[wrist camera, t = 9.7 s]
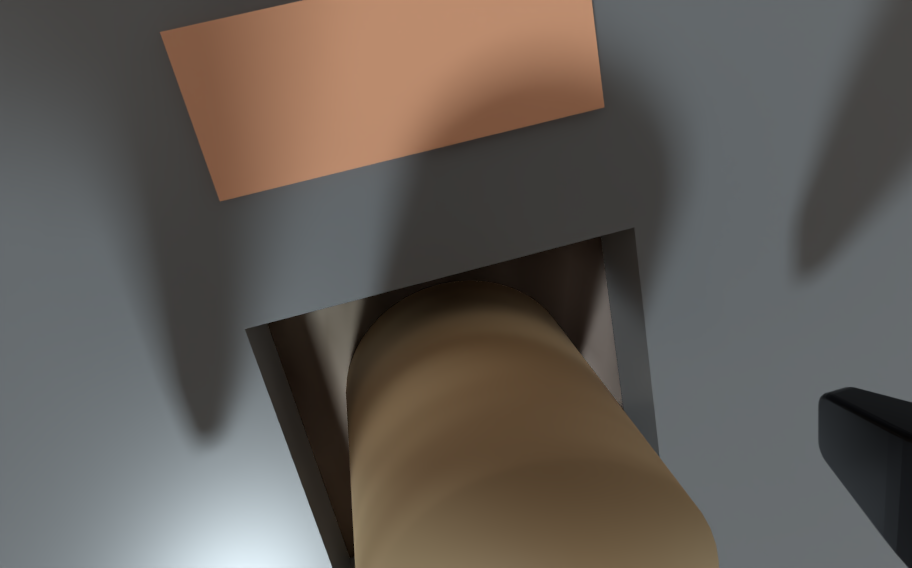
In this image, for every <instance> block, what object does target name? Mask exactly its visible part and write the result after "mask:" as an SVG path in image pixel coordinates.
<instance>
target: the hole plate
mask: <svg viewBox="0 0 912 568" xmlns="http://www.w3.org/2000/svg"><path fill="white" fill-rule="evenodd" d="M599 236H601V241H602V249H603V257H604V264H605V272H606V279H607V287H608V295H609V302H610V310H611V318H612V325H613V333H614V340H615V348H616V356H617V363H618V371H619V379H620V386H621V394H622V401H623V409H624V411H625V413H626V414H627V415H628V417H629V418H630V419H631V421H632V422H633V423H634V424H635V426H636V427H637V428H638V430H639V431H640V432H641V434H642V435H643V436H644V438H645V439H646V440H647V442H648V443H649V444H650V445H651V447H652V448H653V449H654V451H655V452H656V453H657V455H658V456H659V457H660V459H661V460H662V461H663V462H664V464H665V465H666V466H667V468H668V469H669V470H670V472H671V473H672V474H673V476H674V477H675V478H676V480H677V481H678V482H679V483H680V485H681V486H682V487H683V489H684V490H685V491H686V493H687V494H688V495H689V497H690V498H691V499H692V500H693V502H694V503H695V504H696V506H697V507H698V508H699V510H700V511H701V512H702V514H703V516H704V518H705V519H706V521H707V523H708V525H709V526H710V528H711V531H712V534H713V537H714V540H715V543H716V547H717V553H718V559H719V568H908V567H907V566H906V565H905V564H904V563H903V561H902V560H901V559H900V558H899V557H898V556H897V555H896V553H895V552H894V551H893V550H892V548H891V547H890V546H889V545H888V543H887V542H886V541H885V540H884V538H883V537H882V536H881V535H880V533H879V532H878V531H877V529H876V528H875V527H874V525H873V524H872V523H871V521H870V520H869V519H868V517H867V516H866V515H865V513H864V512H863V511H862V509H861V508H860V507H859V505H858V504H857V503H856V501H855V500H854V499H853V497H852V496H851V495H850V493H849V492H848V491H847V489H846V488H845V487H844V486H843V484H842V483H841V482H840V480H839V479H838V478H837V476H836V475H835V474H834V472H833V471H832V470H831V468H830V467H829V466H828V464H827V463H826V462H825V460H824V458H823V456H822V455H821V452H820V449H819V445H818V402H819V399H820V397H821V396H822V395H823V394H825V393H827V392H830V391H834V390H837V389H841V388H844V387H856V388H859V389H863V390H867V391H871V392H875V393H878V394H882V395H886V396H890V397H894V398H898V399H901V400H905V401H909V402H912V0H0V568H355V557H352V558H350V557H349V554H348V551H347V548H346V546H345V543H344V540H343V537H342V534H341V531H340V529H339V526H338V523H337V520H336V517H335V514H334V512H333V509H332V506H331V503H330V500H329V497H328V494H327V492H326V489H325V486H324V483H323V480H322V477H321V475H320V472H319V469H318V466H317V463H316V460H315V458H314V455H313V452H312V449H311V446H310V443H309V440H308V438H307V435H306V432H305V429H304V426H303V423H302V421H301V418H300V415H299V412H298V409H297V406H296V404H295V401H294V398H293V395H292V392H291V389H290V386H289V384H288V381H287V378H286V375H285V372H284V369H283V367H282V364H281V361H280V358H279V355H278V352H277V350H276V347H275V344H274V341H273V338H272V335H271V332H270V330H269V327H268V324H267V323H270V322H274V321H278V320H282V319H286V318H289V317H293V316H297V315H301V314H305V313H309V312H312V311H316V310H320V309H324V308H328V307H332V306H335V305H339V304H343V303H347V302H351V301H354V300H358V299H362V298H366V297H370V296H374V295H377V294H381V293H385V292H389V291H393V290H397V289H400V288H404V287H408V286H412V285H416V284H419V283H423V282H427V281H431V280H435V279H439V278H442V277H446V276H450V275H454V274H458V273H462V272H465V271H469V270H473V269H477V268H481V267H484V266H488V265H492V264H496V263H500V262H504V261H507V260H511V259H515V258H519V257H523V256H527V255H530V254H534V253H538V252H542V251H546V250H549V249H553V248H557V247H561V246H565V245H569V244H572V243H576V242H580V241H584V240H588V239H592V238H595V237H599Z"/></svg>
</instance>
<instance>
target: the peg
mask: <svg viewBox="0 0 912 568" xmlns="http://www.w3.org/2000/svg"><path fill="white" fill-rule="evenodd" d="M346 400H347V419H348V438H349V458H350V477H351V496H352V515H353V534H354V553H355V568H719V559H718V553H717V547H716V543H715V540H714V537H713V534H712V531H711V528H710V526H709V525H708V523H707V521H706V519H705V518H704V516H703V514H702V512H701V511H700V510H699V508H698V507H697V506H696V504H695V503H694V502H693V500H692V499H691V498H690V497H689V495H688V494H687V493H686V491H685V490H684V489H683V487H682V486H681V485H680V483H679V482H678V481H677V480H676V478H675V477H674V476H673V474H672V473H671V472H670V470H669V469H668V468H667V466H666V465H665V464H664V462H663V461H662V460H661V459H660V457H659V456H658V455H657V453H656V452H655V451H654V449H653V448H652V447H651V445H650V444H649V443H648V442H647V440H646V439H645V438H644V436H643V435H642V434H641V432H640V431H639V430H638V428H637V427H636V426H635V424H634V423H633V422H632V421H631V419H630V418H629V417H628V415H627V414H626V413H625V411H624V410H623V409H622V407H621V406H620V405H619V404H618V402H617V401H616V400H615V398H614V397H613V396H612V394H611V393H610V392H609V390H608V389H607V388H606V386H605V385H604V384H603V383H602V381H601V380H600V379H599V377H598V376H597V375H596V373H595V372H594V371H593V369H592V368H591V367H590V366H589V364H588V363H587V362H586V360H585V359H584V358H583V356H582V355H581V354H580V352H579V351H578V350H577V349H576V347H575V346H574V345H573V343H572V342H571V341H570V339H569V338H568V337H567V335H566V334H565V333H564V331H563V330H562V329H561V328H560V326H559V325H558V324H557V322H556V321H555V320H554V319H553V317H552V316H551V315H550V314H549V313H548V311H547V310H545V309H544V308H543V307H542V306H541V305H540V304H539V303H538V302H536V301H535V300H533V299H532V298H530V297H529V296H527V295H526V294H524V293H522V292H520V291H518V290H515V289H513V288H510V287H507V286H504V285H501V284H497V283H492V282H486V281H473V280H466V281H453V282H448V283H443V284H438V285H435V286H432V287H428V288H425V289H422V290H420V291H418V292H416V293H414V294H412V295H410V296H407V297H406V298H404V299H403V300H401V301H400V302H398V303H396V304H395V305H393V306H392V307H391V308H390V309H388V310H387V311H386V312H385V313H384V314H382V315H381V316H380V317H379V318H378V319H377V321H376V322H375V323H374V324H373V325H372V326H371V327H370V328H369V330H368V331H367V333H366V334H365V335H364V337H363V338H362V340H361V342H360V343H359V345H358V347H357V349H356V351H355V353H354V356H353V358H352V361H351V364H350V368H349V372H348V377H347V386H346Z"/></svg>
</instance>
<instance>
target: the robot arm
mask: <svg viewBox="0 0 912 568" xmlns="http://www.w3.org/2000/svg"><path fill="white" fill-rule="evenodd" d="M818 445H819V449H820V452H821V455H822V456H823V458H824V460H825V462H826V463H827V464H828V466H829V467H830V468H831V470H832V471H833V472H834V474H835V475H836V476H837V478H838V479H839V480H840V482H841V483H842V484H843V486H844V487H845V488H846V489H847V491H848V492H849V493H850V495H851V496H852V497H853V499H854V500H855V501H856V503H857V504H858V505H859V507H860V508H861V509H862V511H863V512H864V513H865V515H866V516H867V517H868V519H869V520H870V521H871V523H872V524H873V525H874V527H875V528H876V529H877V531H878V532H879V533H880V535H881V536H882V537H883V538H884V540H885V541H886V542H887V543H888V545H889V546H890V547H891V548H892V550H893V551H894V552H895V553H896V555H897V556H898V557H899V558H900V559H901V560H902V561H903V563H904V564H905V565H906V566H907V567H908V568H912V402H909V401H905V400H901V399H898V398H894V397H890V396H886V395H882V394H878V393H875V392H871V391H867V390H863V389H859V388H856V387H844V388H841V389H837V390H834V391H830V392H827V393H825V394H823V395H822V396H821V397H820V399H819V402H818Z"/></svg>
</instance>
